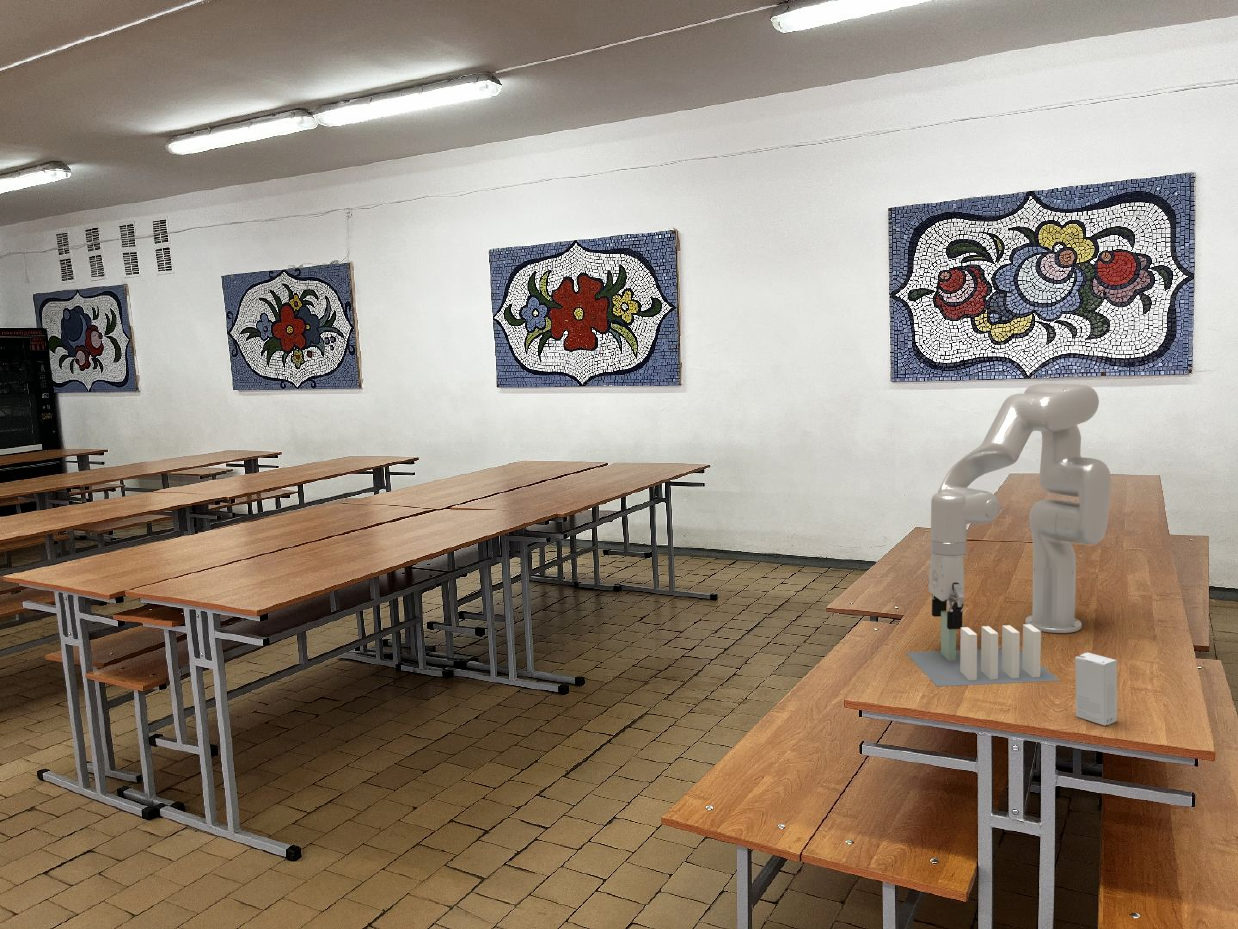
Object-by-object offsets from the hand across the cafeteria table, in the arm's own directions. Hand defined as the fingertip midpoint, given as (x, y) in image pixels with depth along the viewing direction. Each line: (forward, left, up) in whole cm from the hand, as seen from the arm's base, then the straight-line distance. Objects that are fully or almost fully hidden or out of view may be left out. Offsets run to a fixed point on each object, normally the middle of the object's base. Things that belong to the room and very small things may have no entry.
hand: (946, 622), depth 211 cm
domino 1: (+10, +6, -8) cm, 14 cm away
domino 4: (+3, +18, -8) cm, 20 cm away
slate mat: (+3, +7, -9) cm, 12 cm away
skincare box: (+23, +31, -9) cm, 39 cm away
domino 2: (+8, +10, -8) cm, 15 cm away
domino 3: (+5, +14, -8) cm, 17 cm away
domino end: (-1, 0, -8) cm, 8 cm away
